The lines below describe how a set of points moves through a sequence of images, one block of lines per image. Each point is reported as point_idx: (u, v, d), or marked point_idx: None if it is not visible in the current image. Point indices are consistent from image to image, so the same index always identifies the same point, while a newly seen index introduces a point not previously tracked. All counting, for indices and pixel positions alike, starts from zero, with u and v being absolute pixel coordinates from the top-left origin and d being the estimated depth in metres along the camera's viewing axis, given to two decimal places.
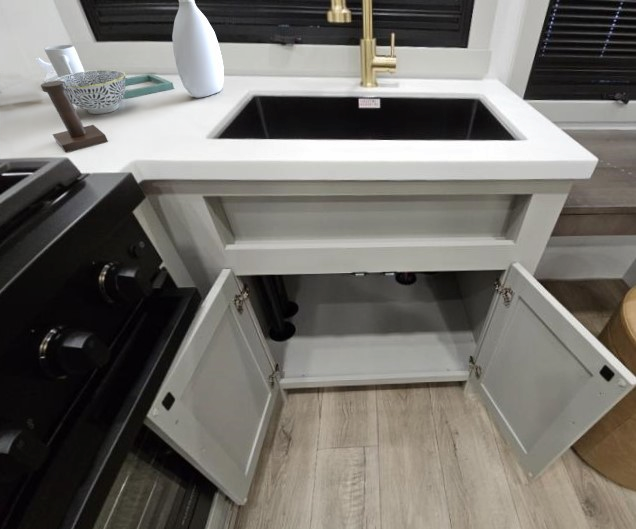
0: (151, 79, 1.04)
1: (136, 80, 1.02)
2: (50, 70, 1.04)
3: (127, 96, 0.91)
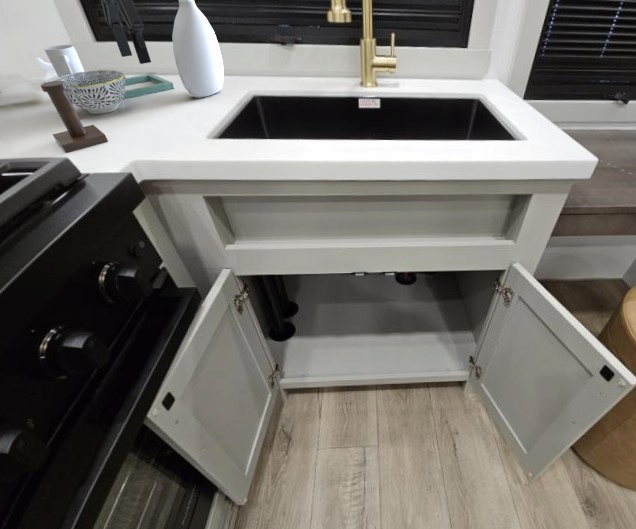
0: (151, 79, 1.04)
1: (136, 80, 1.02)
2: (50, 70, 1.04)
3: (127, 96, 0.91)
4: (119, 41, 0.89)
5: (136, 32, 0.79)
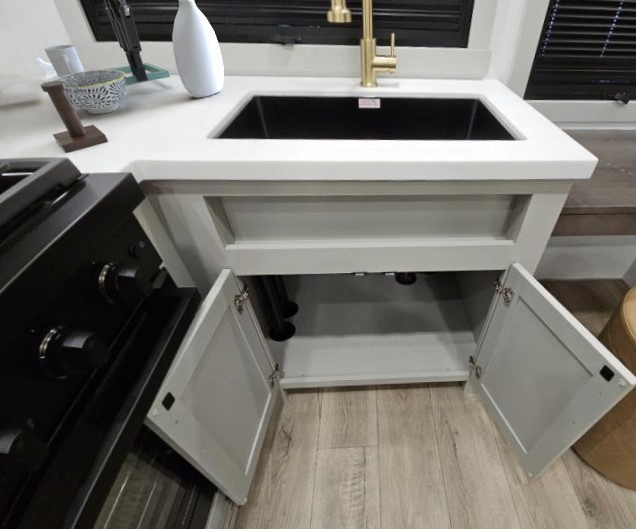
0: (147, 68, 1.02)
1: None
2: (50, 70, 1.04)
3: None
4: None
5: (134, 53, 0.86)
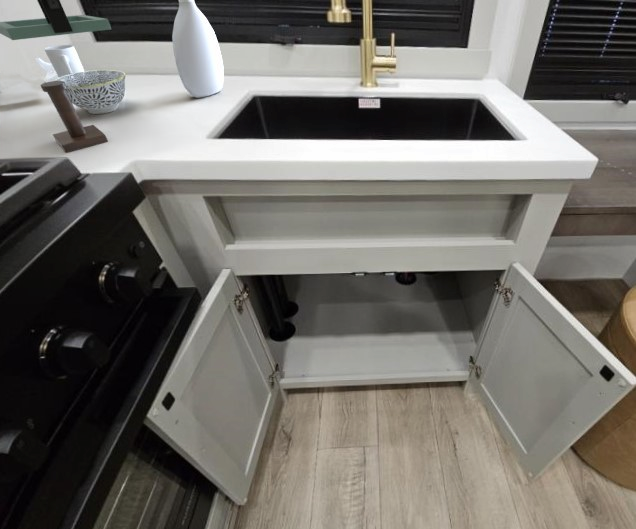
0: None
1: None
2: (50, 70, 1.04)
3: (27, 35, 0.55)
4: None
5: None
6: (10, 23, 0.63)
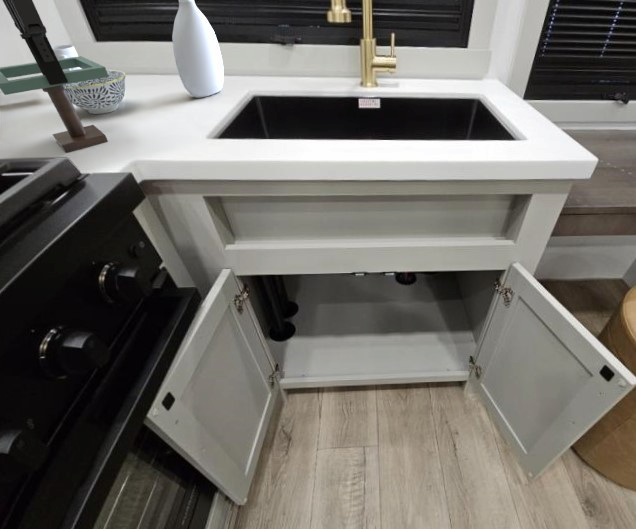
0: (79, 64, 0.66)
1: None
2: None
3: (20, 89, 0.53)
4: None
5: (35, 37, 0.50)
6: (5, 69, 0.60)
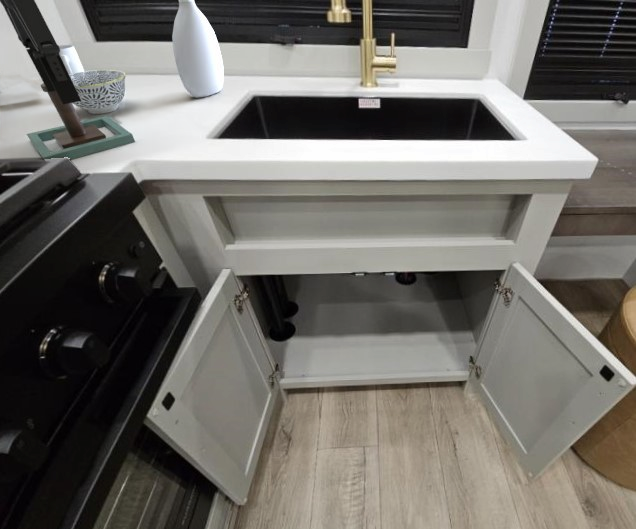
0: (106, 124, 0.74)
1: None
2: None
3: None
4: (41, 69, 0.57)
5: (48, 56, 0.48)
6: (42, 134, 0.68)
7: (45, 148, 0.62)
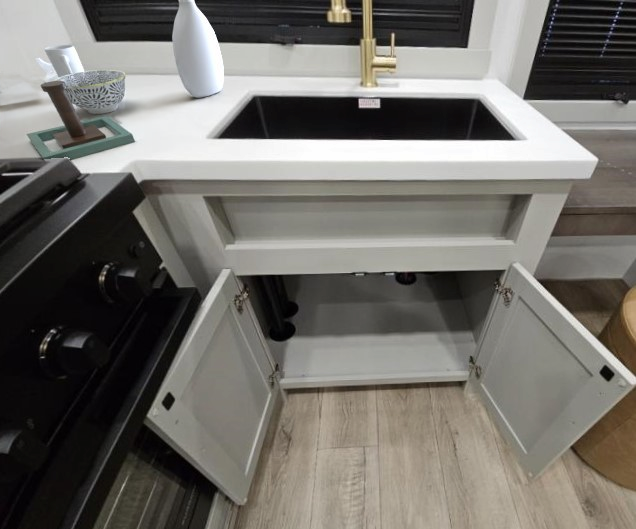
0: (106, 124, 0.74)
1: None
2: (50, 70, 1.04)
3: None
4: None
5: None
6: (42, 134, 0.68)
7: (45, 148, 0.62)
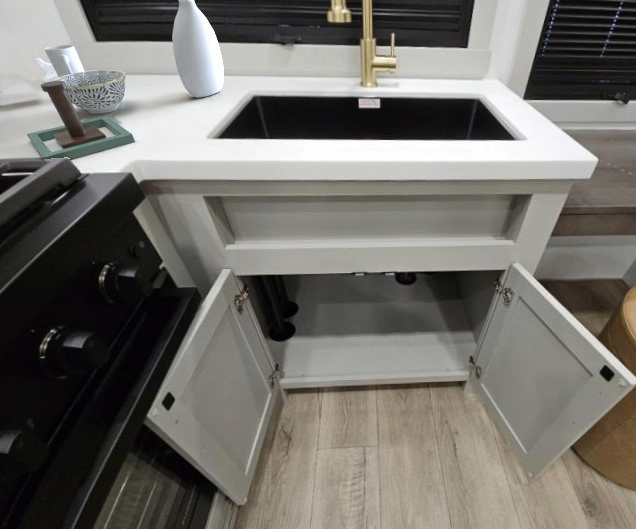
0: (106, 124, 0.74)
1: None
2: (50, 70, 1.04)
3: None
4: None
5: None
6: (42, 134, 0.68)
7: (45, 148, 0.62)
